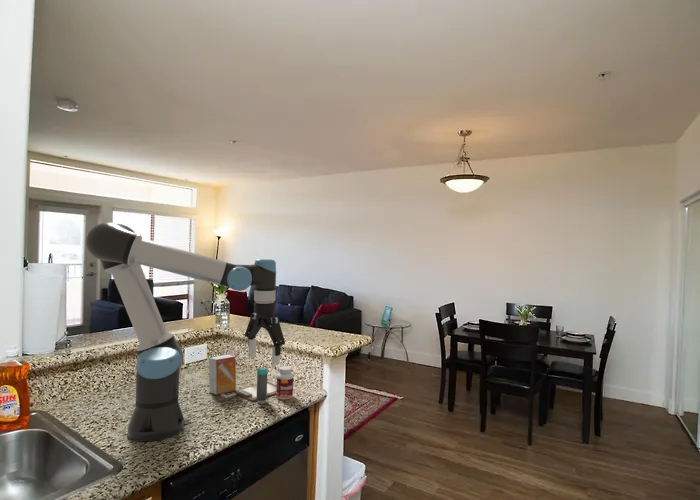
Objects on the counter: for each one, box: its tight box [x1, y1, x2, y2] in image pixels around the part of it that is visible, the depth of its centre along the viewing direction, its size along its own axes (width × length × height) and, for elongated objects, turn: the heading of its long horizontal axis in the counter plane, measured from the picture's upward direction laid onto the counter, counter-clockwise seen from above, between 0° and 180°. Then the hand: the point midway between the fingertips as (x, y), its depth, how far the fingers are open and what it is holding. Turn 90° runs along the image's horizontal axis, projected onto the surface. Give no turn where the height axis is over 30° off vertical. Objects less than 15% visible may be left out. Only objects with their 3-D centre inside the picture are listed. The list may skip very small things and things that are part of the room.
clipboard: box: [232, 381, 277, 403], centre depth 152 cm, size 16×13×1 cm
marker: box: [256, 367, 269, 405], centre depth 142 cm, size 4×4×12 cm
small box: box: [208, 354, 237, 395], centre depth 151 cm, size 8×6×13 cm
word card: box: [218, 391, 238, 399], centre depth 149 cm, size 7×5×1 cm
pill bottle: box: [275, 365, 294, 401], centre depth 148 cm, size 6×6×11 cm
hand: (263, 360), depth 142 cm, fingers open, 13 cm apart
